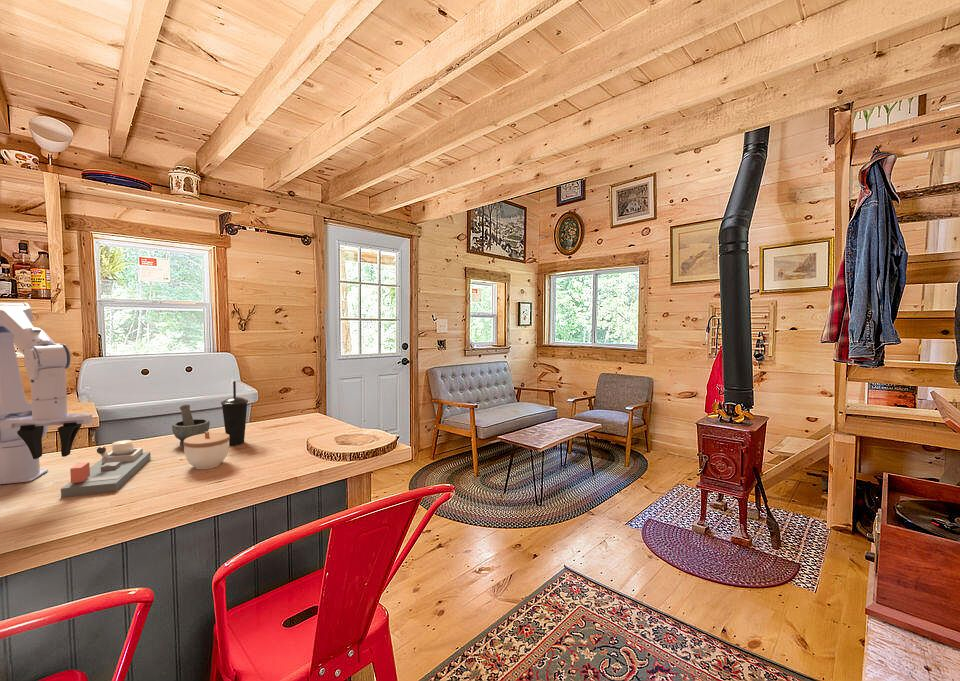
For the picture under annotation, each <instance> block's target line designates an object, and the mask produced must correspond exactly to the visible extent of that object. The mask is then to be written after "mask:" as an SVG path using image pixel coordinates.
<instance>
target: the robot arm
mask: <svg viewBox="0 0 960 681" xmlns="http://www.w3.org/2000/svg"><path fill="white" fill-rule="evenodd" d="M33 316H34V313H33V309H32V307H31V305H30V304H28V303H27V302H24V301H23V302H0V485H6V484H18V483H19V484H20V483H29V482H32V481H34V480H36V479H37V478H39V477H41V476H42V475H44V474H45V473H47V472H48V471H49V469H48V468H42V469H41V468H40V458H41V457H42V456H43V442H42V441H43V437H45V435H47V433H48V430H49V426H59V427H58V428H57V431H58V435H59V438H60V440H59V441H60V454H61V457H62V458H65V457H68V456H70V454H71V450H72V445H73V443H74V440H75V438H76V436H77V434H78V433H79V430H80V429H81V427H82V425H88V424H91V423H92V422H93V413H68V398H67V395H68V394H67V373H66V370H68V369H69V367H70V366H71V363H72V355H71V351H70V349H69V347H68V346H67V344H65V343H55V341H54V340H53V339H52V338H51V337H50V336H49V335H48V333H47V332H46V331H45V330H43V329H41V328H40V327H35V326H34V325H33V318H34V317H33ZM15 346H16V348H17V349H18V350H19V351H20V353H21V354H22V355H23V361H24V366H25V369H26V376H27V379H29V380H30V397H31V398H30V400H31V402H29V401H27V397H26V393H25V390H24V385H23V380H22V375H21V370H20V366H19V362H18V357H17V354H16V349H15ZM61 425H62V426H61Z"/></svg>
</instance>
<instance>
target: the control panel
mask: <svg viewBox="0 0 960 681" xmlns="http://www.w3.org/2000/svg"><path fill="white" fill-rule="evenodd" d="M143 450H144V448H143V447H136V448H134V447H133V451H132V452H129V453H125V454H112V450H111V451H110V452H107V454H108V455H109V457H110V458H111V459H109V460H107V461H104V459H103V458H102V457H101V459H100V460H98V461H97V462H95V463H94V464H93V465H91V466H90V476H89V477H88V478H86V479H85V480H84V481H83V482H77V483H71V481H69V482H68V483H67V484H65V485H64V486H63V487H61V488H60V498H69V497H77V496H86V495H95V494H105V493H113V492H118V490H119V489H121V487H122V486H124V485H125V484H126V483H127V481H129V480H130V479H131V478H132V477H133V476H134V475H135V474H137V473H138V471H139V470H140V469H141V468H143V467H144V466H145V465H146V464H147V463H148V462H149V461H150V460H151V458H152V457H151V451H143Z"/></svg>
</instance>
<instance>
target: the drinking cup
mask: <svg viewBox="0 0 960 681" xmlns="http://www.w3.org/2000/svg"><path fill="white" fill-rule="evenodd" d="M236 382H237V381H236V380H233V382H232V384H233V385H232V387H233V389H232V390H233V391H232V392H233V393H232V394H233V397H228V398H226V399H224V400H222V401H220V404H221V407H222V408H221V409H222V416H223V424H224V433H226V434H229V435H230V439H229V446H240V445H242V444H244V443H245V436H246V425H247V424H246V423H247V422H246V421H247V412H248V403H249V400H248V399H247V398H244V397H239V396H237V395H236V394H237V388H236V387H237V386H236Z"/></svg>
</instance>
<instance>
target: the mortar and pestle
mask: <svg viewBox="0 0 960 681" xmlns="http://www.w3.org/2000/svg"><path fill="white" fill-rule="evenodd" d="M190 408H191V405H190V404H183V405H181V406H179V410H180V412H181V419H182V420H180V421H176V422H174V423H172V424H171V428H172V434H173V435H174V437H175V438H176V439H178V440H179V441H180V442H179V446H180V447H182V448H184V443H183V441H184V440H185V439H186V438H188V437H191V436H194V435H198V434H204V433H205V432H207V431H209V430H210V425H211V424H210V420H209V419H206V418H193V415H192V414H193V413H192V412H191V409H190Z"/></svg>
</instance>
